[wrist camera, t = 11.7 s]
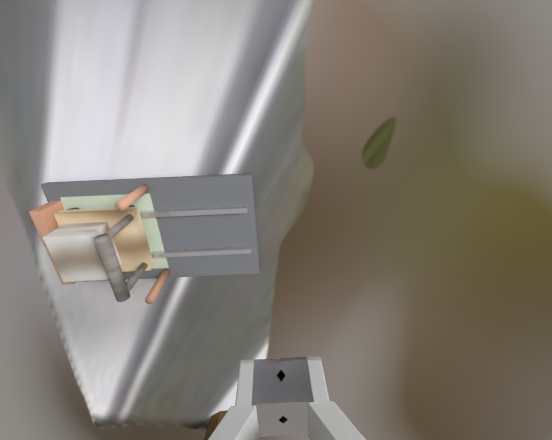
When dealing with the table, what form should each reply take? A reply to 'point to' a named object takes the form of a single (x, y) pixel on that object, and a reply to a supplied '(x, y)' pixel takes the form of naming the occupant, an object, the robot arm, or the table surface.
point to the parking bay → (138, 198)
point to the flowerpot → (214, 423)
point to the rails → (191, 213)
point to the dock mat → (188, 219)
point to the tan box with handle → (100, 246)
